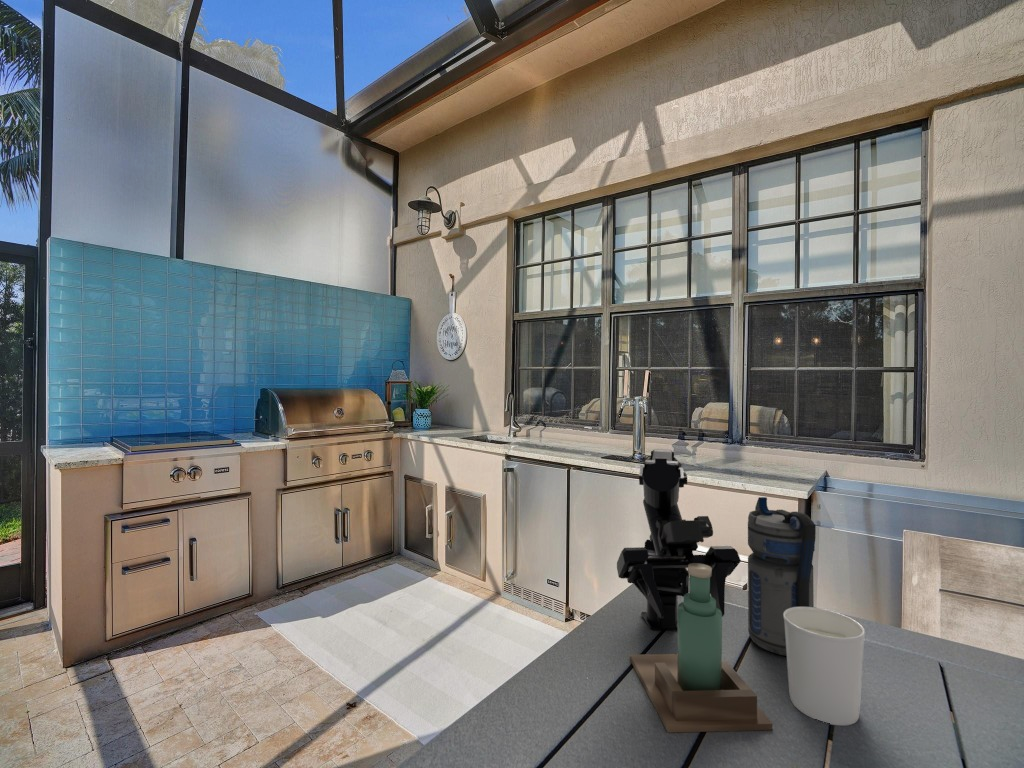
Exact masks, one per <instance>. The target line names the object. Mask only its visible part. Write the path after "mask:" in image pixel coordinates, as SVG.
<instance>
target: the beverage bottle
mask: <svg viewBox="0 0 1024 768" xmlns="http://www.w3.org/2000/svg"><path fill="white" fill-rule="evenodd" d="M816 528H817V527H816V524H815V523H814V521H813V520H812V519H811V518H810V516H809V515H808V514H807V513H803V512H800V511H787V510H784V509H776V510H775V509H769V507H768V497H766V496H765V497H764V496H763V497H759V496H758V499H757V501H756V504H755V509H754V510H752V511H750V512H749V514H748V517H747V545H748V546H749V548H750V550H751V551H752V553H751V554H749V555H748V557H747V602H748V603H747V615H748V617H747V624H748V625H747V627H748V628H747V629H748V635H749V637H750V638H751V640H752V642H753V643H754V644H756V645H757V646H758V647H760V648H762V649H763V650H764V651H768V652H769V653H772V654H776V655H780V656H786V657H787V655H786V641H785V627H784V618H783V613H784V611H785V610H787V609H789V608H792V607H814V605H815V604H814V565H813V560H814V559H813V558H814V552H815V551H816V550H815V543H816V534H817V533H816Z"/></svg>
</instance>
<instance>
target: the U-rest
mask: <svg viewBox="0 0 1024 768" xmlns="http://www.w3.org/2000/svg"><path fill="white" fill-rule="evenodd" d="M629 661H630V663H631V665H632V666H633V668H634V671H635V673H637V676H638V678H639V680H640V681H641V684H642V686H643V688H644V689H645V692H646V693H647V695H648V697H649V700H650V701H651V703H652V705H653V707H654V709H655V712H657V714H658V716H659V719H660V721H661V722H662V724H663V727H664V729H665V730H666V733H700V732H703V733H705V732H740V731H741V732H742V731H746V732H748V731H773V723H772V721H771V720H770V719H769V718H768V717H767V715H766V714H765V713H764V711H762V710H761V708H760V706H758V695H757V694H756V693H755V692H754V691H753V690H752V689H751V688H750V686H749V685H748V684H747V683H746V681H745V680H744V679H743V678H742V677H741V676H740V675H739V673H738V672H737V671H736V670H735V669H734V668H733V667H732V666H731V665H730V663H729V662H728V661H722V690H702V691H683V690H682V689H681V687H680V686H679V684H678V683H677V653H663V654H662V653H657V654H653V653H652V654H651V653H650V654H629Z"/></svg>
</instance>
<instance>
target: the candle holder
mask: <svg viewBox="0 0 1024 768" xmlns="http://www.w3.org/2000/svg"><path fill="white" fill-rule="evenodd" d="M783 618H784V627H785V641H786V655H787V656H786V667H787V681H788V691H789V692H788V693H789V694H788V695H789V699H790V702H791V703H792V705H793V706H794V707H795V708H796V709H797V710H798V711H799V712H801V713H802V714H803V715H806V716H807V717H809V718H811V719H813V720H815V719H819V720H821V721H826V722H828V723H830V724H829V725H831V726H839V727H840V726H851V725H854V724H855V723H857V722H858V720H859V718H860V712H861V711H860V710H861V701H862V700H861V697H862V682H863V665H864V646H865V637H866V636H865V635H866V630H865V628H864V626H862V624H861V623H859V622H858V621H857V620H855V619H853V618H851V617H850V616H846V615H844V614H842V613H839V612H836V611H833V610H829V609H825V608H820V607H792V608H789V609H787V610H785V611H784V613H783Z"/></svg>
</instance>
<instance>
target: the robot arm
mask: <svg viewBox="0 0 1024 768" xmlns="http://www.w3.org/2000/svg"><path fill="white" fill-rule="evenodd" d="M643 462H644V464H643V465H640V466H639V468H640V469H639V474H638V475H639V476H638V480H639V482H638V483H639V485H640V486H643V487H642V488H643V497H644V498H643V500H642V503H643V507H644V511H645V515H646V519H647V523H648V528H649V531H650V535H649V539H646V540H645V542H644V547H640V546H639V547H623V549H622V550H621V551H620V555H619V556H618V559H617V562H616V570H617V576H618V578H619V579H621V580H623V579H626V580H627V583H629V584H633V586H635V587H636V588H637V589H638V590H639V592H640V593H641V594H642V595H643V597H645V599H646V611H642V612H640V615H641V616H642V619H643V620H644V622H645V623H646V624H647V626H648V627H649V629H650V630H653V631H654V630H678V605H679V602H678V596H679V597H681V598H682V597H683V598H684V595H685V594H687V593H689V577H690V574H689V573H688V565H689V564H691V563H700V564H705V565H708V566H710V567H711V568H712V576H711V577H710V596H711V597H713V598H714V599H715V600H716V607H717V608H718V609H719V610H720V611H721V612H722V618H723V617H724V616H725V603H726V602H725V598H726V597H725V596H726V595H725V594H726V593H725V591H726V589H725V588H726V580H727V578H728V577H729V576H731V574H732V573H733V572H734V571H735V570H736V568H737V567H738V565H739V564H740V563H741V558H740V555H739V553H738V550H737V549H736V548H734V547H733V546H731V545H723V546H722V545H721V546H720V545H718V546H717V545H715V546H712V545H711V546H710V547H709V548H708V550H707V551H706V553H705V554H694V553H693V552H694V551H697V550H698V548H699V545H698V544H699V543H704V541H705V540H704V539H708V538H710V537H711V538H712V537H713V535H714V530H713V524H712V522H711V520H710V518H709V516H708V515H700V516H699V515H698V516H697V517H694V518H693V519H692V520H691V519H689V520H688V519H687V520H686V519H683V517H682V514H681V511H680V508H679V505H678V502H679V499H680V498H679V497H680V494H679V493H680V488H685V485H688V475H687V473H686V472H685V470H684V467H682V465H683V464H682V463H681V462H679V460H678V459H677V458H676V457H675V450H671V449H669V448H668V449H662V448H660V449H659V448H654V449H651V450H650V456H649V458H647V459H645V460H644V461H643Z"/></svg>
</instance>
